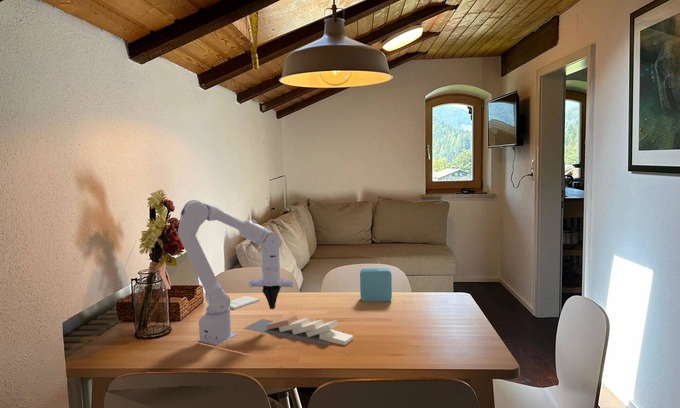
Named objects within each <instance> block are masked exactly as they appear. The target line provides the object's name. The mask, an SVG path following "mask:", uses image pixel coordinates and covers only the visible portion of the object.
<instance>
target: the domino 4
mask: <svg viewBox="0 0 680 408" xmlns="http://www.w3.org/2000/svg"><path fill="white" fill-rule="evenodd" d="M338 325H339V322H338V320H337V319H335V320H332V321H328V322H326V323H325V322H324V324H323V325H322V326H320V327H318V328H317V329H314V330H310V331H308V332H306V334H307V336H308V337H311V336H314V335H317V334H320V333H322V332H325V331H328V330H333V329H334V328H335V327H337V326H338Z"/></svg>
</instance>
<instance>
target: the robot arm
mask: <svg viewBox="0 0 680 408" xmlns="http://www.w3.org/2000/svg"><path fill="white" fill-rule="evenodd" d="M179 218H180V220H179V224H178V230H177V235H178V239H179V240H180V242H181V244H182V246H183V248H184V250H185V252H186V254H187V257H188V258H189V260H190V262H191V264H192V267H193V268H194V271H195V273H196V275H197V277H198V278H199V281H200V283H201V285H202V288H203V289H204V293H205V297H204V298H205V301H206V303H208V306H207V307H206V308H205V314H204V315H202V316H201V317H200V318H199V322H198V330H199V333H198V334H199V338H198V339H197V341H198V342H202V343H206V344H209V345H214V346H218V345H220V344H221V343H224V342H226V341H228V340H229V339H232V338H234V337H236V336H238V333H237V332H236V333H235V332H232V323H231V309H230V307H229V306H230V301H231V298H230V297H229V295H228V294H227V293H226V291H225V289H223V287H222V286H221V285H220V283H219V282H218V280H217V277H216V275H215V273H214V271H213V269H212V267H211V265H210V263H209V260H208V259H207V257H206V254H205V252H204V250H203V247H202V246H201V244H200V242H199V240H198V237H197V233H198V231H199V228H200V227H201V226H202V224H204V223H205V221H206V220H207V221H208V222H212V221H213V222H214V221H217V222H221V223H223V224H225V225H226V226H229V227H232V228H234V229H236V230H237V231H238V233H239V235H240V237H242V238H244V239H246V240H248V241H251V242H253V243H255V244H256V245H260V246H261V275H262V279H250V280H249V281H248V284H249V285H248V286H249V288H253V287H254V288H255V287H257V288H258V287H259V288H261V287H262V289H261V290H262V293H263V295H264V296H265V298H266V301H267V303H268V306H269V307H268V308H269V310H274V309H275V308H276V303H277V299H278V296H279V293H280V290H281V288H294V286H295V281H294V279H282V278H281V267H280V265H281V263H280V247H281V245H282V240H281V237H280V235H279V234H278V233H276V232H275V231H272V230H271V229H270V228H269V227H267V226H266V227H264V226H263V225H260V224H258V221H256V220H254V219H246V220H244V221H243V220H241V219H239V218H237V217H236V216H234V215H232V214H230V213H228V212H226V211H224V210H222V209H220V208H218V207H217V206H215V205H214V206H213V205H211V204H208V203H204V202H201V201H199V200H196V199H191V200H189V201H188V202H186V203H185V205H183V208H182V210H181V211H180V217H179Z"/></svg>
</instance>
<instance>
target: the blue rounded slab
mask: <svg viewBox="0 0 680 408" xmlns="http://www.w3.org/2000/svg"><path fill="white" fill-rule="evenodd" d="M392 276H393V275H392V272H391V270H390V269H389V268H363V269H361V270H360V271H359V277H360V278H359V283H360V284H359V286H360V289H359V292H360V300H361V301H362V302H367V303H368V302H370V303H371V302H389V301H391V300H392V299H393V296H392V295H393V292H392V290H393V288H392V287H393V286H392V282H393V281H392Z"/></svg>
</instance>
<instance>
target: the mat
mask: <svg viewBox="0 0 680 408" xmlns="http://www.w3.org/2000/svg"><path fill="white" fill-rule="evenodd" d="M273 321H274V320H270V319H264V318H262V319H259V320H257V321H255V322H253V323H252V324H249V325H247V326H245V327H244V328H243V329H245V330H250V331H255V332H259V333H264V334H270V335H273V336H278V337H284V338H287V339H288V338H289V339H292V340H293V339H294V340H299V341H303V342H308V343H314V344H319V345H323V346H328V345H329V344H331V343H332V342H328V341H325V340H322V339H319V337H320V334H317V335H314V336H311V337H308V336H307V334H306V332H303V333H299V334H295V335H293V332H292V330H293V329H292V330H288V331H283V332H280V330H279V327H278V328H273V329H269V330H268V328H267V324H269V323H271V322H273ZM307 332H308V331H307Z"/></svg>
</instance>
